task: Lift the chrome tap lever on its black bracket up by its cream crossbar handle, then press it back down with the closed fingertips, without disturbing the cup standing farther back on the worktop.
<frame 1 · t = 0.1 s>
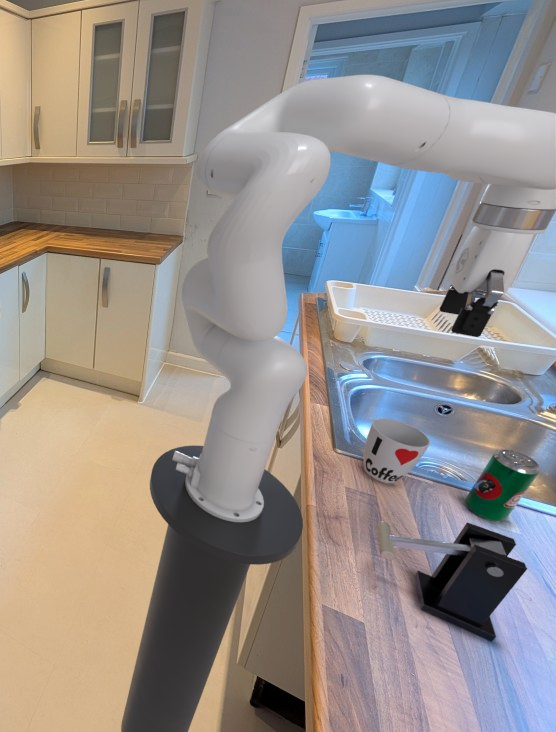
hand: (457, 323, 69), 32 cm above the countertop, tool pointing down, fingers open, 9 cm apart
tap lever: (437, 546, 57), point 9 cm above the countertop, hinge at -25.0°
cup: (379, 474, 82), on the countertop
soda can: (483, 512, 74), on the countertop
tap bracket: (450, 606, 59), on the countertop
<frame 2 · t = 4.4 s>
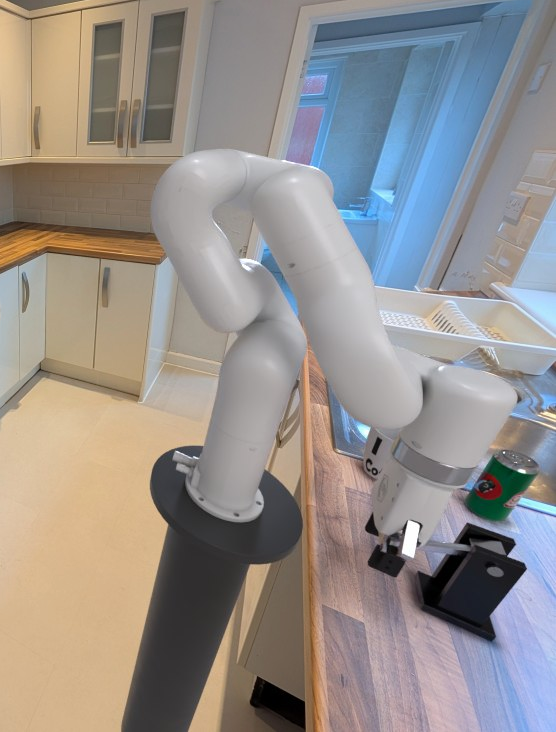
hand: (379, 551, 62), 4 cm above the countertop, tool pointing down, fingers closed on tap lever, 6 cm apart
tap lever: (437, 546, 57), point 9 cm above the countertop, hinge at -25.0°, touching gripper
everything else where it was.
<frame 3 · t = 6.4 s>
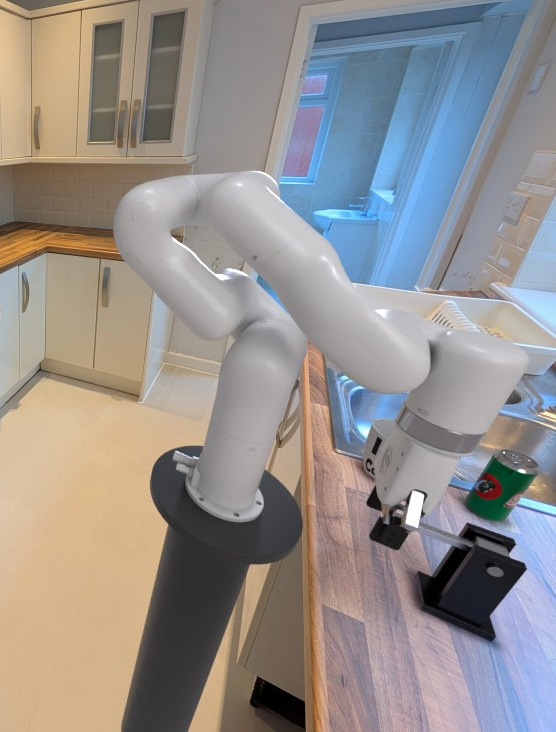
hand: (381, 525, 61), 9 cm above the countertop, tool pointing down, fingers closed on tap lever, 6 cm apart
tap lever: (439, 534, 57), point 11 cm above the countertop, hinge at 0.9°, touching gripper
everything else where it was.
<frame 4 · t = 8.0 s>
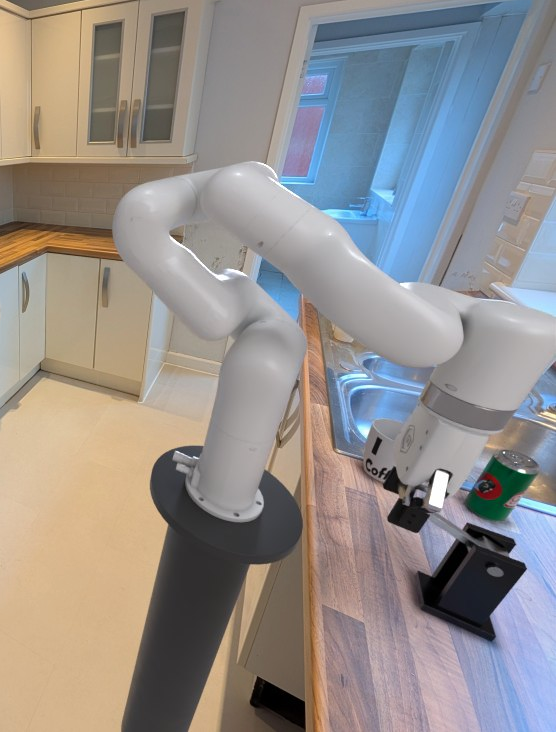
hand: (399, 507, 59), 13 cm above the countertop, tool pointing down, fingers closed on tap lever, 6 cm apart
tap lever: (449, 527, 56), point 13 cm above the countertop, hinge at 22.6°, touching gripper
everything else where it was.
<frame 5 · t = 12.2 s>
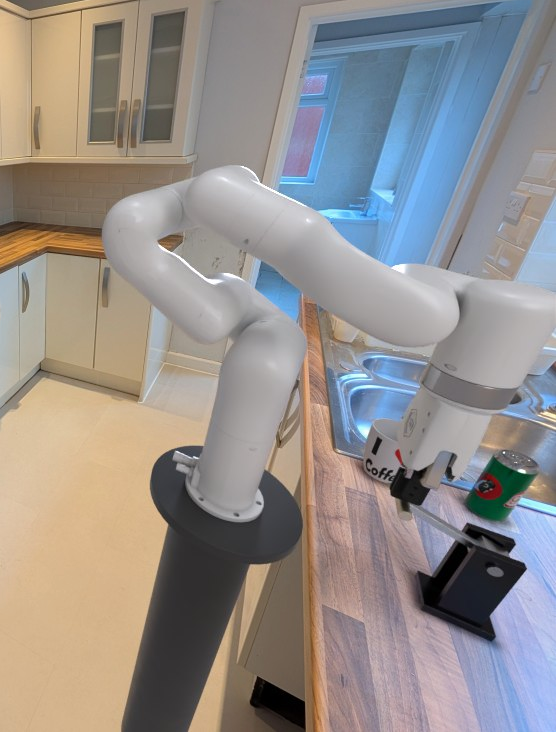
hand: (404, 497, 58), 15 cm above the countertop, tool pointing down, fingers closed
tap lever: (447, 528, 56), point 12 cm above the countertop, hinge at 18.7°, touching gripper
everything else where it was.
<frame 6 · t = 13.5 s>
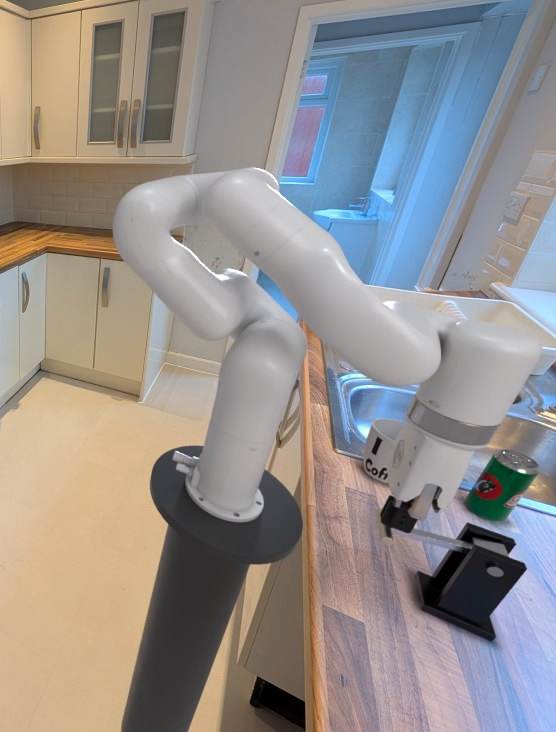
hand: (394, 524, 60), 10 cm above the countertop, tool pointing down, fingers closed
tap lever: (437, 540, 57), point 10 cm above the countertop, hinge at -11.2°, touching gripper
everything else where it was.
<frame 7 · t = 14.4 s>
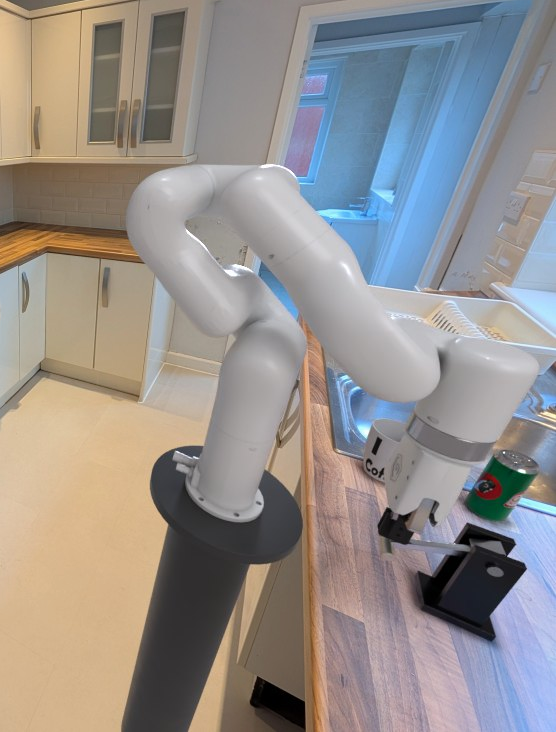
hand: (391, 535, 60), 8 cm above the countertop, tool pointing down, fingers closed
tap lever: (437, 547, 58), point 9 cm above the countertop, hinge at -26.5°, touching gripper
everything else where it was.
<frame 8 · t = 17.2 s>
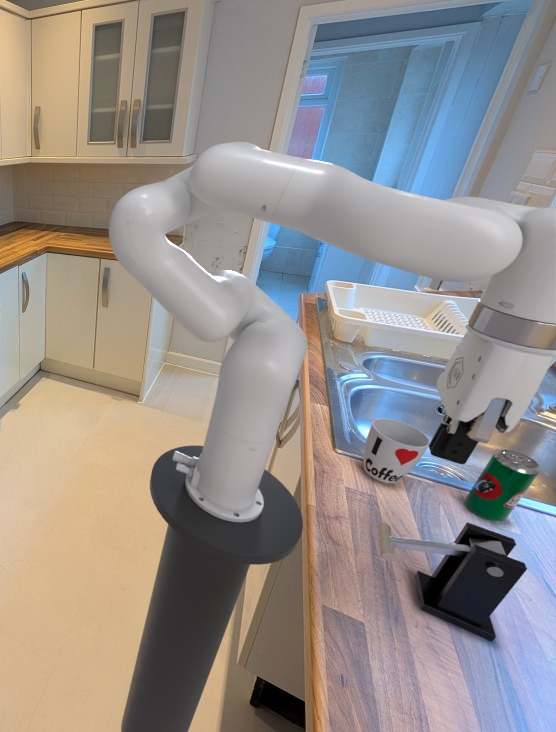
hand: (445, 455, 54), 23 cm above the countertop, tool pointing down, fingers closed
tap lever: (437, 547, 58), point 9 cm above the countertop, hinge at -26.5°
everything else where it was.
at the end: tap lever reached +23° during the clip, -26° at the end; tap lever at -26° (first picture: -25°); cup moved 0.2 cm from its start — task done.
